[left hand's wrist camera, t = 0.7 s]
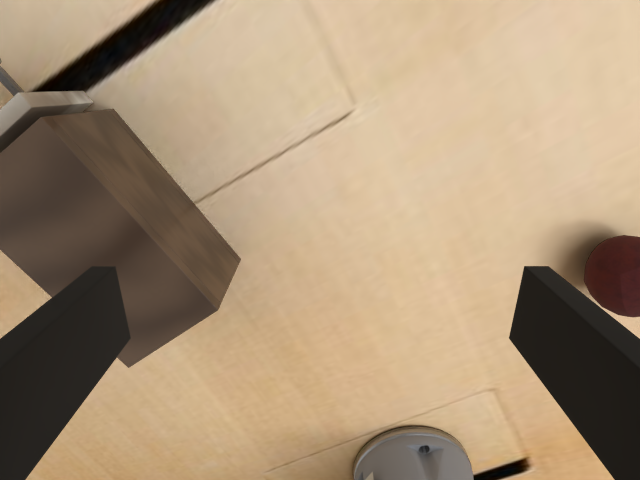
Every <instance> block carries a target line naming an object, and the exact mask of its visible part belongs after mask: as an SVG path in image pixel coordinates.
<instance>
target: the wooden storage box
mask: <svg viewBox="0 0 640 480" xmlns="http://www.w3.org/2000/svg"><path fill="white" fill-rule="evenodd" d="M0 250H1V251H2V252H3V253H4V254H6V255H7V256H8V257H9V258H10V259H11V260H12V261H13V262H14V263H15V264H16V265H17V266H19V267H20V268H21V269H22V270H23V271H24V272H25V273H26V274H27V275H28V276H29V277H31V278H32V279H33V280H34V281H35V282H36V283H37V284H38V285H39V286H40V287H41V288H42V289H44V290H45V291H46V292H47V293H48V294H49V295H50V296H51V297H54V296H55V295H56V294H57V293H59V292H60V291H61V290H63V289H64V288H65V287H66V286H68V285H69V284H70V283H71V282H73V281H74V280H75V279H76V278H78V277H79V276H80V275H81V274H83V273H84V272H85V271H86V270H88V269H89V268H90V267H91V266H116V271H117V276H118V280H119V285H120V290H121V294H122V299H123V304H124V308H125V313H126V318H127V322H128V327H129V332H130V336H131V339H130V340H129V341H128V343H127V344H126V345H125V347H124V348H123V349H122V351H121V352H120V353H119V355H118V356H117V358H118V359H119V360H121V361H122V362H123V363H124V364H125V365H126V366H127V367H128V368H129V367H131V366H132V365H134V364H135V363H137V362H138V361H140V360H141V359H143V358H145V357H146V356H148V355H149V354H151V353H152V352H154V351H155V350H157V349H159V348H160V347H162V346H163V345H165V344H166V343H168V342H169V341H171V340H172V339H174V338H176V337H177V336H179V335H180V334H182V333H183V332H185V331H186V330H188V329H190V328H191V327H193V326H194V325H196V324H197V323H199V322H200V321H202V320H203V319H205V318H207V317H208V316H210V315H211V314H213V313H214V312H216V311H217V310H218V309H219V307H220V305H221V302H222V300H223V298H224V296H225V293H226V291H227V289H228V287H229V285H230V282H231V280H232V278H233V276H234V274H235V271H236V269H237V267H238V265H239V263H240V260H241V259H240V258H239V256H238V255H237V254H236V253H235V252H234V251H233V249H232V248H231V247H230V246H229V245H228V243H227V242H226V241H225V240H224V239H223V238H222V236H221V235H220V234H219V233H218V232H217V230H216V229H215V228H214V227H213V226H212V225H211V223H210V222H209V221H208V220H207V219H206V217H205V216H204V215H203V214H202V213H201V212H200V210H199V209H198V208H197V207H196V206H195V205H194V203H193V202H192V201H191V200H190V199H189V197H188V196H187V195H186V194H185V193H184V192H183V190H182V189H181V188H180V187H179V186H178V184H177V183H176V182H175V181H174V180H173V179H172V177H171V176H170V175H169V174H168V173H167V171H166V170H165V169H164V168H163V167H162V166H161V164H160V163H159V162H158V161H157V160H156V158H155V157H154V156H153V155H152V154H151V153H150V151H149V150H148V149H147V148H146V147H145V146H144V144H143V143H142V142H141V141H140V140H139V138H138V137H137V136H136V135H135V134H134V133H133V131H132V130H131V129H130V128H129V127H128V125H127V124H126V123H125V122H124V121H123V120H122V118H121V117H120V116H119V115H118V114H117V112H116V111H115V110H114V109H109V110H100V111H92V112H83V113H74V114H66V115H57V116H47V117H40V118H39V119H38V120H37V121H36V122H35V123H34V124H33V125H31V126H30V127H29V128H28V129H27V130H26V131H25V132H24V133H22V134H21V135H20V136H19V137H18V138H17V139H16V140H15V141H14V142H12V143H11V144H10V145H9V146H8V147H7V148H6V149H5V150H3V151H2V152H1V153H0Z"/></svg>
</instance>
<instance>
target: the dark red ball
mask: <svg viewBox="0 0 640 480" xmlns="http://www.w3.org/2000/svg"><path fill="white" fill-rule="evenodd" d="M584 282H585V284H586V286H587V288H588V290H589V293H590V295H591V296H592V297H593V298H594V299H595V300H596V301H597V302H598V303H599V304H600V305H601V306H602V307H604V308H606V309H607V310H609V311H611V312H613V313H616V314H618V315H622V316H627V317H640V237H635V236H626V235H623V236H617V237H613V238H609V239H607V240H605V241H603V242H602V243H600V244H599V245H598V246H597V247H596V248H595V249H594V250H593V251H592V253H591V255H590V257H589V259H588V261H587V263H586V267H585V275H584Z"/></svg>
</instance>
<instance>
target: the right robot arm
mask: <svg viewBox="0 0 640 480" xmlns="http://www.w3.org/2000/svg"><path fill="white" fill-rule="evenodd" d="M353 475H354V480H473V472H472V468H471V464H470V461H469V458H468V456H467V453H466V451H465V449H464V448H463V446H462V445H461V444H460V443H459V442H458V441H457V440H456V439H455V438H454V437H452V436H451V435H449V434H447V433H445V432H443V431H440V430H437V429H434V428H429V427H419V426H413V427H403V428H397V429H394V430H390V431H388V432H385V433H383V434H381V435H379V436H377V437H375V438H374V439H372V440H371V441H370V442H368V443H367V444H366V445H365V446H364V447H363V448H362V449H361V451H360V452H359V454H358V455H357V457H356V460H355V462H354V467H353Z"/></svg>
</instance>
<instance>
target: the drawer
mask: <svg viewBox="0 0 640 480" xmlns="http://www.w3.org/2000/svg"><path fill="white" fill-rule="evenodd" d="M0 64H1V59H0ZM0 82H1V83H2V84H3V85H4V86H5V87H6V88H7V89H8V90H9V91H10V92H11V93H12V94H13V96H14V97H13V98H12V99H11V100H10V101H8V102H7V103H6V104H5V105H4V106H3V107H2V108H1V109H0V153H1V152H2V151H3V150H5V149H6V148H7V147H8V146H9V145H10V144H11V143H12V142H14V141H15V140H16V139H17V138H18V137H19V136H20V135H21V134H22V133H24V132H25V131H26V130H27V129H28V128H29V127H30V126H31V125H33V124H34V123H35V122H36V121H37V120H38V119H39V118H40V117H47V116H57V115H66V114H74V113H82V112H83V111H84V110H85V109H87V108H88V107H89V106H90V105H91V104H92V103H93V101H92V100H91V99H90V98H89V97H88V96H87V94H86V93H85V92H84V91H61V92H24V91H23V90H22V89H21V88H20V87H19V86H18V85H17V83H16V82H15V81H14V80H13V79H12V78H11V77H10V76H9V75H8V74H7V73H6V71H5V70H4V69H3V68H2V67H1V66H0Z"/></svg>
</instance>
